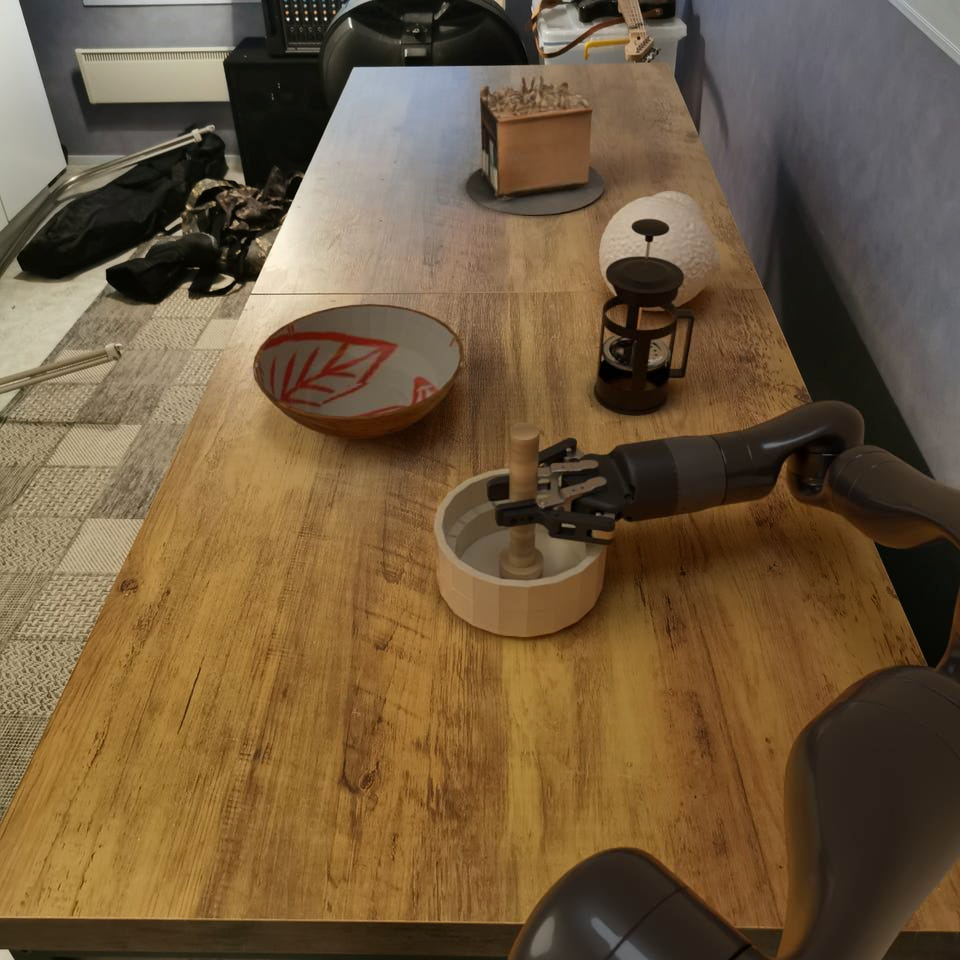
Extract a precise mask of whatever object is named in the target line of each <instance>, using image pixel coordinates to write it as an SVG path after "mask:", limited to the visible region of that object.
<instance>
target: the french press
mask: <svg viewBox="0 0 960 960" xmlns="http://www.w3.org/2000/svg"><path fill="white" fill-rule="evenodd" d="M631 227H632V230H633V231H634V232H636V233H638V234H641V235H644V236H645V241H646V242H647V247H646V255H645V256H635V257H627V258H623V259H619V260H617V261H615V262H613V263H612V264H610V265H609V266H608V268H607V270H606V278H607V280H608V281H609V283H610V284H611V285H613V288H614V290H615V292H616V294H617V296H615V295H614V296H612V297H610V298H609V299H607V300H606V302H604V304H603V306H602V311H601V312H602V313H601V314H602V315H601V323H600V324H601V325H600V337H599V345H598V346H599V347H598V358H597V359H598V361H597V369H596V370H597V371H596V379H595V381H596V382H595V384H594V386H593V395H594V397H595V399H596V401H597V402H598V404H600V405H601V406H602V407H604V408H605V409H607V410H609V411H611V412H614V413H617V414H620V415H621V414H622V415H625V416H644V415H648V414H652V413H655V412H657V411H659V410H660V409H662V408H663V407H664V406H665V405H666V403H667V401H668V399H669V390H668V388H669V381H670V379H684V378H685V377H686V374H687V373H686V372H687V368H688V360H689V356H690V355H689V354H690V348H691V343H692V337H693V330H694V324H695V315H694V312H693V309H688V308H682V309H681V308H678V307H676V306H675V305H674V304H673V303H671V302H672V301H674V300H675V299H676V297H677V295H678V289H679V287H680V286H681V285H682V284H683V281H684V274H683V272H682V270H681V269H680V268H679V267H678V266H676V265H675V264H673V263H671V262H669V261H666V260H663V259H659V258H655V257H649V249H650V242H652V241H653V237H654V236H660V235H664V234H666V233H667V232H668V231H669V226H668V225H667V224H666V223H665V222H663V221H660V220H656V219H641V220H638V221H635V222H634V223H633V224H632V226H631ZM619 305H627V309H626V318H625V326H624V325H620V324H618V323H616V322H615V321H613V320H612V319H610V318H609V317H608V316H607V314H606V313H607V312H608V311H609V310H611V309H613V308H615V307H617V306H619ZM654 307H661V308H663V309H665V311H666V312H667V313H669V314H670V315H671V316H672V317H673V319H672V322H670V323H669V324H667V325H665V326H662V327H659V328H654V329H641V322H642V314H643V310H642V308H654ZM680 319H682V320H686V319H687V320H688V321H687V327H686V333H685V339H684V346H683V353H682V358H681V364H680V367H679V368H672V361H673V355H674V349H675V348H674V346H675V343H676V342H675V341H676V335H677V328H678V322H679V320H680ZM605 329H607V330H608V331H609V332H610V333H612V334H614V335H613V336H611V337H608V338H607V339H606V340H605V339H604V337H605ZM668 336H670V338H669V345H667V344H666V343H665V342H664V341H663V340H661V339H662V338H663V339H664V338H665V337H668ZM604 340H605V341H604ZM626 377H630V378H631V382H630V389H629V390H625V389H621V388H617V387H615V386H613V385H611V384H609V383H610V382H611V381H613V380H615V379H620V378H626ZM647 382H649V383H651V384H652V385H653V386H654V387H655V388H653V389H649V390H646V383H647Z"/></svg>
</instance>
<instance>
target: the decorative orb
mask: <svg viewBox="0 0 960 960" xmlns="http://www.w3.org/2000/svg"><path fill="white" fill-rule="evenodd" d="M641 219H656V220H660V221H663V222H665V223H666V224H667V225H668V226H669V231H668V232H667V233H666V234H664V235H660V236H654V237H653V241H652V242H650V249H649V257H655V258H659V259H663V260H666V261H669V262H671V263H673V264H675V265H676V266H678V267H679V268H680V269H681V270H682V272H683V274H684V281H683V284H682V285H681V286H680V287H679V289H678V295H677V297H676V299H675V300H674V301H672V302H671V303H673V304H674V305H675V306H676V308H678V307H681V305H683V304H686V303H687V302H689V301H691V300H692V299H694V298H696V297H697V295H698V294H700V292H701V291H702V290H704V288H705V287H709V286H710V285H711V284H713V280H714V277H715V275H716V273H717V272H718V271H719V267H720V265H721V256H720V251H719V247H718V245H717V243H716V241H715V238H714V235H713V234H712V230H711V229H710V227H709V225H708V224H707V223H706V221H705V215H704V213H703V210H702V208H701V206H700V205H699V204H698V202H697V201H696V200H695V199H693V197H692V196H689V195H688V194H686V193H683V192H678V191H676V190H667V191H666V190H665V191H660V192H657V193H656V194H654V195H650V196H642V197H639V198H636V199H634V200H632V201H630V202H628V203H626V205H624V206H622V207H621V208H620V209H618V211H617V212H616V213H615V214H613V215H612V217H611V219H610V220H609V221H608V224H607V225H606V226H605V229H604V232H603V234H602V236H601V240H600V241H599V243H600V245H599V251H598V257H599V259H598V262H599V268H600V270H599V272H600V273H601V276H602V279H603V280H604V283H605V284H606V286H607V287H608V289H609V291H610V293H612V294H613V295H614V296H617V294H616V292H615V290H614V288H613V285H611V284H610V283H609V281H608V280H607V278H606V270H607V268H608V266H609V265H610V264H612V263H613V262H615V261H617V260H619V259H623V258H627V257H635V256H645V255H646V247H647V242H646V241H645V236H644V235H641V234H638V233H636V232H634V231H633V230H632V227H631V226H632V224H633V223H634V222H635V221H638V220H641ZM642 311H646V312H647V311H648V312H665V311H666V310H665V309H663V308H661V307H654V308H642Z"/></svg>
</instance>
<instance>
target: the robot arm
mask: <svg viewBox="0 0 960 960" xmlns="http://www.w3.org/2000/svg"><path fill="white" fill-rule="evenodd" d="M864 442H865V420H864V417H863V415H862V414H861V412H860V411H859V410H858V409H857V408H855V406H853V405H852V404H849V403H847V402H845V401H841V400H835V399H823V400H822V399H821V400H814V401H810V402H807V403H804V404H800V405H799V406H796V407H794V408H791V409H789V410H787V411H785V412H783V413H781V414H779V415H777V416H775V417H772V418H770V419H767V420H765V421H762V422H760V423H757V424H755V425H752V426H749V427H747V428H744V429H740V430H732V431H726V432H720V433H719V432H718V433H711V434H705V435H703V434H702V435H678V436H672V437H665V438H664V437H663V438H657V439H650V440H644V441H636V442H630V443H629V442H628V443H623V444H618V445H616V446H615V447H614V448H613V449H612V450H611V451H609V452H608V453H605V454H599V453H585V452H584V451H582V450H580V449H579V448H578V440H577V439H576V438H574V437H567V438H565V439H563V440H561V441H559V442H557V443H554V444H552V445H551V446H548V447H546V448H544V449H542V450H539V462H538V481H539V480H541V479H549V482H548V483H538V487H537V495H549V496H548V497H544V498H541V499H539V500H538V501H537V503H536V502H535V500H534V499H530V500H523V501H516V502H509V503H503V504H498V505H497V506H496V507H495V520H496V523H497V525H498V526H504V527H515V526H520V525H521V526H522V525H528V524H535V523H537V524H538V525H540V526H544V527H545V528H546V529H547V530H548V535H549V536H550V537H552V538H557V539H564V540H571V541H578V542H585V543H592V544H599V545H606V546H607V547H608V546H611V545H613V543H614V536H615V530H616V529H615V528H616V523H617V522H619V521H621V520H624V521H625V522H627V523H637V522H643V521H649V520H654V519H662V518H668V517H670V518H671V517H676V516H681V515H688V514H694V513H699V512H702V511H705V510H708V509H709V510H710V509H712V508H716V507H722V506H723V507H724V506H730V505H736V504H743V503H749V502H754V501H759V500H763V499H765V498H767V497H768V496H770V494H771V493H772V492H773V491H774V489H775V487H776V485H777V482H778V479H779V476H780V473H781V471H782V468H783V465H784V464H785V462H786V469H785V481H786V482H785V483H786V486H787V489H788V490H789V493H790V495H791V496H792V498H793V499H794V500H795V501H797V502H798V503H799V504H801V505H804V506H808V507H813V508H817V509H821V510H825V511H829V512H831V513H833V514H836V515H839V516H841V517H842V518H843V519H844V520H846V522H848V523H849V524H850V525H851V526H853V527H854V528H855V529H856V530H857V531H859V532H860V533H861V534H862V535H864V536H865V537H866V538H868V539H870V540H871V541H873V542H875V543H877V544H880V545H881V546H884V547H887V548H891V549H897V550H916V549H922V548H928V547H932V546H937V545H941V544H945V543H952V544H953V545H954V546H955V547H956V548H957V549H958V550H959V551H960V489H958V488H956V487H955V488H954V487H952V486H949V485H947V484H944V483H942V482H939V481H938V480H935V479H933V478H932V477H930V476H928V475H926V474H925V473H922V472H921V471H919V470H918V469H917V468H915V467H913V466H912V465H910V464H908V463H907V462H906V461H904V460H902V459H901V458H899V457H897V456H896V455H895V454H893V453H891V452H890V451H888V450H886V449H884V448H881V447H879V446H876V445H873V444H864ZM560 476H562V478H561V486H559V485H558V479H559V477H560ZM509 484H510V475H509V476H503V477H496V478H494V479H492V480H489V481H488V482H487V496H488V499H489V501H491V502H495V501H502V500H508V499H509ZM556 507H558V508H557V509H556V510H554V509H553V508H556ZM562 524H570V525H574V526H575V528H569V527H562ZM782 795H783V796H782V799H783V801H782V803H783V804H782V805H783V806H782V807H783V824H784V825H783V827H784V838H785V849H786V861H787V880H788V884H787V899H786V900H787V901H786V910H785V918H784V924H783V929H782V935H781V938H780V943H779V947H778V951H777V954H776V957H775V958H774V957H770V956H768V955H767V954H765V953H763V952H762V951H761V950H760V949H759V948H758V947H757V946H756V945H753V942H752V941H751V940H750V939H748V938H747V936H746V935H744V934H743V933H742V932H741V931H739V930H738V929H737V928H736V927H735V926H734V925H733V924H732V923H731V922H730V921H728V920H727V919H726V918H725V917H724V916H723V915H722V914H721V913H719V912H718V911H717V910H716V908H714V907H713V906H712V905H710V904H709V903H708V902H707V901H706V900H705V899H704V898H702V897H701V896H700V895H699V894H698V893H697V892H696V891H695V890H694V889H691V887H690V886H689V885H688V884H686V882H684V881H683V880H682V879H681V878H680V877H678V875H677V874H675V873H674V872H673V871H672V870H671V869H670V868H668V867H667V866H666V865H665V864H664V863H663V862H662V861H661V860H660V859H659V858H657V857H656V856H654V855H653V854H651V853H650V852H648V851H646V850H644V849H641V848H638V847H633V846H615V847H610V848H606V849H602V850H600V851H598V852H595V853H593V854H592V855H590V856H588V857H586V858H584V859H582V860H581V861H579V862H578V863H576V864H574V866H572V867H570V868H569V869H567V871H566V872H565V873H564V874H562V875H561V876H560V877H559V878H558V879H557V880H556V881H555V882H554V883H553V884H552V885H551V886H550V887H549V888H548V890H547V891H546V892H545V893H544V894H543V896H542V897H541V898H540V900H539V901H538V902H537V903H536V904H535V906H534V907H533V909H532V911H531V912H530V914H529V915H528V917H527V918H526V920H525V922H524V924H523V925H522V927H521V929H520V931H519V933H518V935H517V937H516V939H515V941H514V943H513V945H512V948H511V950H510V951H509V953H508V956H507V959H506V960H883V957H884V956H885V955H886V954H887V952H888V950H889V949H890V947H892V945H893V943H894V942H895V940H896V939H897V937H898V936H899V934H900V933H901V932H902V930H904V928H905V926H906V925H907V924H908V923H909V922H910V920H911V919H912V917H913V916H914V915H915V914H916V913H917V911H918V910H919V909H920V907H921V906H922V905H923V903H924V902H925V901H926V900H927V899H928V897H929V896H930V895H931V894H932V893H933V892H934V890H935V889H936V888H937V887H938V885H939V884H940V883H941V882H942V880H943V879H945V877H946V876H947V875H948V874H949V872H950V871H951V870H952V869H953V868H954V866H955V865H956V864H957V863H958V861H959V860H960V583H959V584H958V589H957V596H956V600H955V606H954V613H953V619H952V625H951V629H950V635H949V640H948V643H947V647H946V649H945V652H944V654H943V656H942V658H941V659H940V661H939V662H938V664H937V665H936V667H933V666H926V665H919V664H895V665H889V666H885V667H882V668H879V669H875V670H872V671H871V672H869V673H868V674H865V675H864V676H862V677H861V678H858V679H857V680H856V681H855V682H853V683H852V684H850V685H849V686H847V687H846V688H845V689H844V690H843V691H842V692H841V693H840V694H839V695H837V696H836V697H835V698H834V699H833V700H832V701H831V702H830V703H829V704H828V705H826V706H825V707H824V708H823V709H822V710H821V711H820V712H819V713H817V714H816V715H815V717H813V718H812V719H811V720H810V721H809V722H808V723H806V725H805V726H803V728H802V729H801V731H800V732H799V733H798V735H797V737H796V738H795V740H794V741H793V743H792V745H791V748H790V751H789V754H788V757H787V761H786V764H785V771H784V780H783V793H782Z"/></svg>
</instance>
